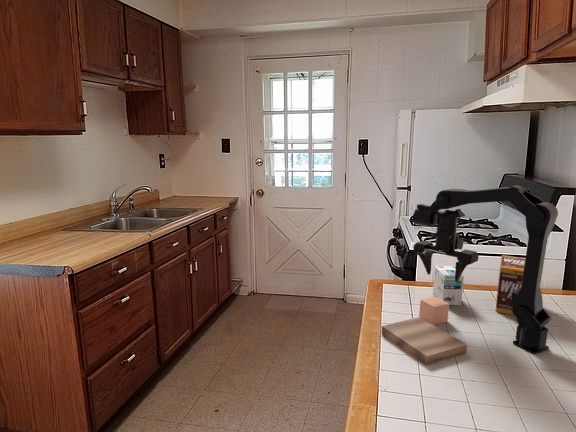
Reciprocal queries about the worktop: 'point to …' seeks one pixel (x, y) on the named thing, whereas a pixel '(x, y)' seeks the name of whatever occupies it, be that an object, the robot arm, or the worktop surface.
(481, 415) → the worktop surface
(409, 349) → the walnut block
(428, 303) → the terracotta cube
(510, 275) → the supplement box
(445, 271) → the light bulb box
